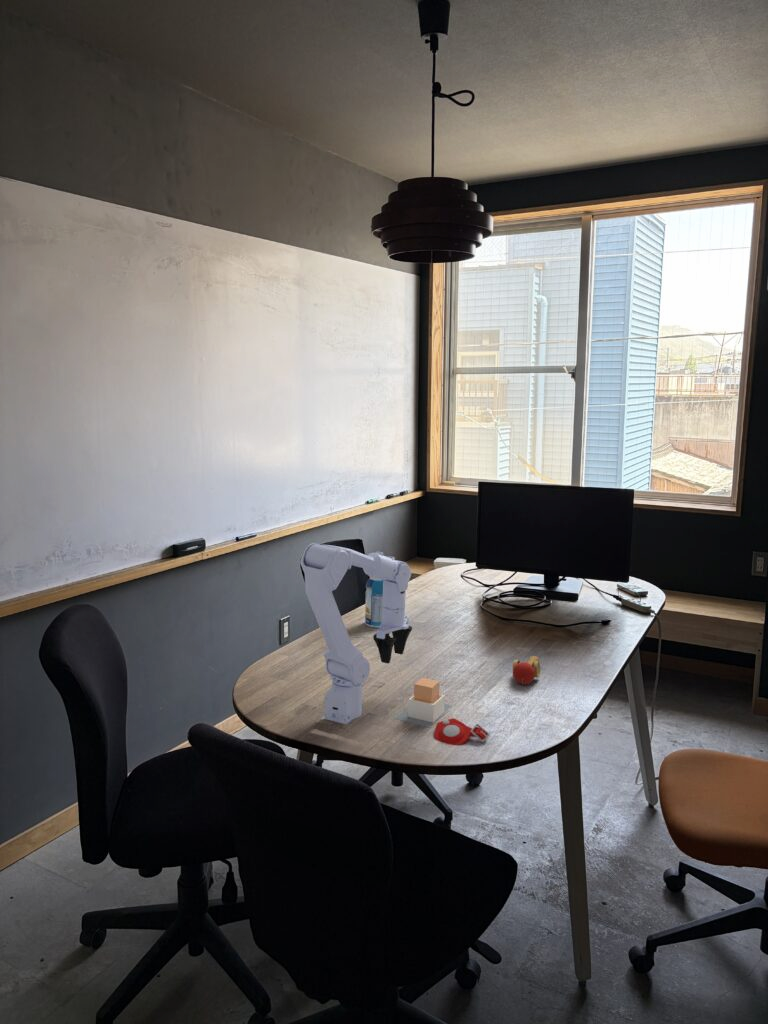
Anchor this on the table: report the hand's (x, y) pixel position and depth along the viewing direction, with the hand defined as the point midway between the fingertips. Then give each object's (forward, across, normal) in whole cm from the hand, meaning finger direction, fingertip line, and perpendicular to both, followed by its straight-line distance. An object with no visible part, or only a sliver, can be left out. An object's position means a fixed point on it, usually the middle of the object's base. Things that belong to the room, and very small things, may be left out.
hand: (392, 657), depth 194 cm
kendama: (+11, +33, -26) cm, 43 cm away
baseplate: (+10, -6, -12) cm, 17 cm away
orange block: (+6, -7, -13) cm, 16 cm away
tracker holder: (+11, -14, -24) cm, 30 cm away
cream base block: (+10, -7, -13) cm, 18 cm away
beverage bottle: (+11, +51, +31) cm, 61 cm away
